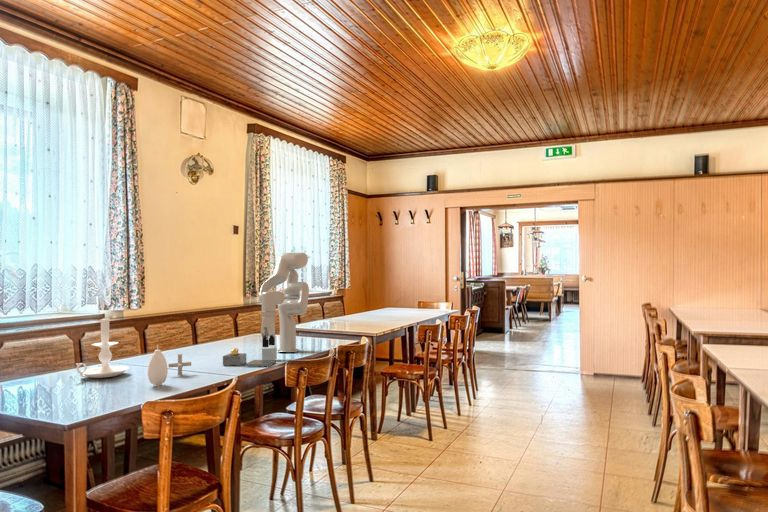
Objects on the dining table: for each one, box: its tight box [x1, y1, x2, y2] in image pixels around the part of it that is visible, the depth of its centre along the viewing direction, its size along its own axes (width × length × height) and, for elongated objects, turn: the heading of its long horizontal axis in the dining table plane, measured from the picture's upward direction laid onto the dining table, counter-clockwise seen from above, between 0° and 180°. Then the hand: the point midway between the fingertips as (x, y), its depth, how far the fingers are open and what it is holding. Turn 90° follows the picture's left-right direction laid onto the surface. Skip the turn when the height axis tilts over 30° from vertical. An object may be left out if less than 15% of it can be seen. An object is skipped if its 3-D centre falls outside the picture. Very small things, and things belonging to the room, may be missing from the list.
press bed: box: [244, 359, 277, 367], centre depth 269 cm, size 12×12×2 cm
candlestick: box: [75, 317, 130, 379], centre depth 244 cm, size 21×25×28 cm
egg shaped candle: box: [147, 343, 169, 387], centre depth 223 cm, size 8×8×18 cm
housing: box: [261, 346, 278, 360], centre depth 282 cm, size 6×6×7 cm
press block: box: [222, 352, 247, 366], centre depth 272 cm, size 9×9×5 cm
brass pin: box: [230, 348, 239, 355], centre depth 272 cm, size 4×4×5 cm
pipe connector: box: [167, 353, 192, 376], centre depth 245 cm, size 10×10×10 cm
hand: (268, 346), depth 281 cm, fingers open, 9 cm apart
